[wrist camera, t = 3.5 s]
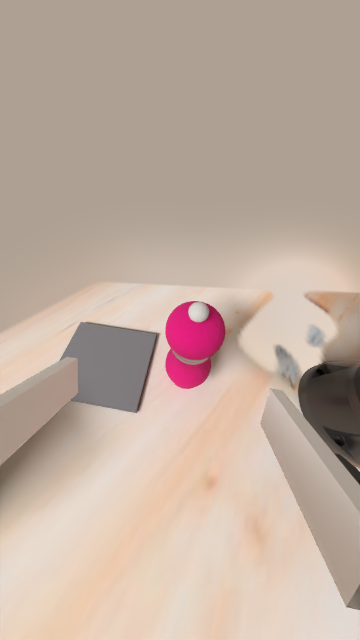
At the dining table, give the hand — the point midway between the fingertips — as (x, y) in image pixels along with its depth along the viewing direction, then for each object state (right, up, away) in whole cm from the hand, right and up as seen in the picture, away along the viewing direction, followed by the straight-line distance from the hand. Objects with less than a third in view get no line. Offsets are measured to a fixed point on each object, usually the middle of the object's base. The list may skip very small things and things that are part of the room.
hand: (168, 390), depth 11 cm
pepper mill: (+2, -5, +19) cm, 20 cm away
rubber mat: (-13, -3, +20) cm, 24 cm away
